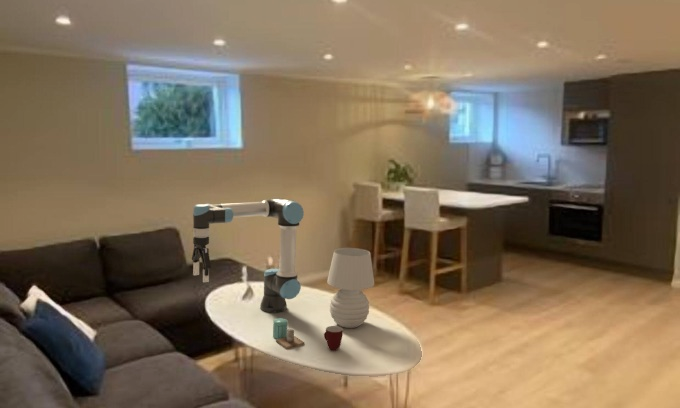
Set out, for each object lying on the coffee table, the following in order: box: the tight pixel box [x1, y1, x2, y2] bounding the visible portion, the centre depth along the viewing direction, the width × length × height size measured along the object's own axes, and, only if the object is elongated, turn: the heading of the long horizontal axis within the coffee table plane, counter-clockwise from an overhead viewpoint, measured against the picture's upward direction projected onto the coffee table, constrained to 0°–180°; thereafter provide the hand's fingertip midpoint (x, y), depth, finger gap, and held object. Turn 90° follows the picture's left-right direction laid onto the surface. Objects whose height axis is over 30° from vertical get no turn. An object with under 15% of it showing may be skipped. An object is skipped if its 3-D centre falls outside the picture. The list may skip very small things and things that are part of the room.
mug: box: [323, 325, 344, 352], centre depth 245 cm, size 11×8×10 cm
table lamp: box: [326, 247, 375, 329], centre depth 275 cm, size 25×25×40 cm
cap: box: [272, 317, 288, 340], centre depth 257 cm, size 7×7×8 cm
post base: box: [275, 328, 305, 350], centre depth 249 cm, size 10×10×7 cm
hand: (200, 278), depth 254 cm, fingers open, 13 cm apart
